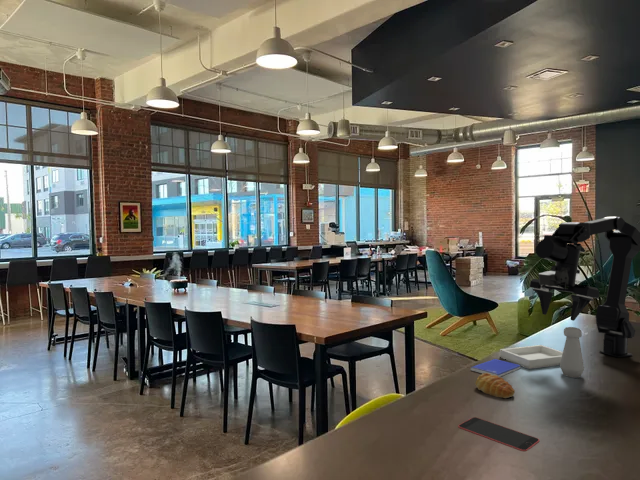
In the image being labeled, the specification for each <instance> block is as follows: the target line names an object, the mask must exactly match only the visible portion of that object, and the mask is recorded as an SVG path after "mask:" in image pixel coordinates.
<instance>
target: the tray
mask: <svg viewBox="0 0 640 480" xmlns="http://www.w3.org/2000/svg"><path fill="white" fill-rule="evenodd" d="M501 350H502V351H501ZM562 354H563V351H562V350H558V349H555V348H552V347H549V346H546V345H542V344H537V345H528V346H520V347H519V346H518V347H508V348H500V349H499V358H500V357H501V358H500V359H503V360H505V359H506V360H505V361H507V362H509V363H514V364H518V365H520V367H523V368H525V369H528V370H531V369H539V368H546V367H556V366H560V362H561V358H562Z"/></svg>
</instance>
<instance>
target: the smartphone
mask: <svg viewBox="0 0 640 480" xmlns="http://www.w3.org/2000/svg"><path fill="white" fill-rule="evenodd" d="M457 427H458V428H459V429H462V430H464V431H467V432H469V433H472V434H474V435H477V436H480V437H482V438H486V439H488V440H490V441H493V442H497V443H498V444H502V445H505V446H507V447H510V448H512V447H513V448H512V449H516V450H518V451H521V452H527V450H528V449H529V450H531V449H532V448H533V447H535V446H536V445H537V444H539V443H540V442H541V441H540V439H539V438H538V437H535V436H533V435H529V434H526V433H523V432H520V431H518V430H514V429H511V428H508V427H506V426H503V425H500V424H497V423H494V422H491V421H489V420H485V419H482V418H479V417H471V418H469V419H467V420H465V421H463V422H461V423H460V424H458V426H457ZM529 450H528V451H529Z"/></svg>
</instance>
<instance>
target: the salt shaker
mask: <svg viewBox="0 0 640 480" xmlns="http://www.w3.org/2000/svg"><path fill="white" fill-rule="evenodd" d="M582 332H583V331H582V329H580V328H578V327H576V326H575V327H574V326H567V327H565V328H564V329H563V335H564V336H565V342H564V345H563V346H564V347H563V350H562V352H563V354H562V358H561V362H560V365H559V367H560V370H561V372H562V375H563V376H565V377H568V378H573V379H574V378H575V379H576V378H580V377H582V374H583V373H584V371H585V366H584V358H583V352H582V347H581V342H580V338H582V334H583V333H582Z"/></svg>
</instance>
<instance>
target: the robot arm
mask: <svg viewBox="0 0 640 480" xmlns="http://www.w3.org/2000/svg"><path fill="white" fill-rule="evenodd" d="M603 233H604V238H606V240H607V241H608V242H609V243H608V244H609V245H608V246H609V250H610V253H611V254H612V257H613V258H612V262H611V263H612V264H611V271H610V275H609V282H608V288H607V293H606V294H607V295H606V300H605V301H604V303H603V304H602V305H601V304H599V305H598V306H597V309H596V315H595V323H596V328H597V332H598V333H600V334H603V344H602V349H601V350H598V351H599V353H602V354H606V355H609V356H612V357H615V358H625V357H631V356H633V354H632V353H631V352H628V350H629V349H628V348H629V347H628V345H629V344H628V343H629V339H633V338H635V334H636V329H635V327H634V326H633V325H632V323H631V322H630V313H629V310H628V309H627V307H626V299H627V292H628V284H629V282H630V281H629V280H630V279H629V278H630V273H631V267H632V261H633V259H634V258H635V257H636V255H638V253H639V252H640V231H639V230H638V228H637V227H635V225H634V226H633V225H632V224H630V223H628V222H626V221H625V220H624V219H623V217H620V216H605V217H603V218H598V219H594V220H589V221H588V220H587V221H585V222H584V221H583V222H577V221H575V222H573V221H571V222H570V221H569V222H561V223H559V224H558V227H557V228H556V230H555V231H554V232H553V233H552V234H551V235H550V234H548V235H547V234H546V235H545V234H544V236H543V239H541V240H540V241H539V242H538V243H537V245H536V247H535V253H536V255H537V257H539V258H541V259H544V260H548V261H552V262H555V265H552V266H551V267H550V270H547V271H543V272H539V273H538V279H537V278H532V279H531V280H530V281H529V288H532V291H533V292H535V293H536V294H537V296H538V299H539V303H540V308H541V312H542V313H541V314H542V315H544V316H546V315H547V314H548V311H549V308H550V306H551V303H552V302H551V301H552V298H553V296H554V293H553V292H552V291H553V290H554V291H559V292H567V293H573V294H574V295H573V294H571V295H570V296H571V299H572V306H571V312H570V321H573V322H574V321H575V320H576V319H577V318H578V316H579V315H580V313H581V312H582V311H583V309H584V308H585V307H586V306H587V305H589V303H590V302H591V301H592V302H594V299H599V297H600V291H599V289H598V287H594V286H590V285H583V284H578V283H576V279H577V274H578V275H580V274H581V273H580V272H581V270H580V269H578V267H579V259H580V256H581V255H580V254H581V253H585V252H586V249H585V248H584V247H583V246H582V244H581V243H583V242H585V241H587V240H589V239H590V238H591V236H593V235H597V234H603ZM566 287H567V288H566Z"/></svg>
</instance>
